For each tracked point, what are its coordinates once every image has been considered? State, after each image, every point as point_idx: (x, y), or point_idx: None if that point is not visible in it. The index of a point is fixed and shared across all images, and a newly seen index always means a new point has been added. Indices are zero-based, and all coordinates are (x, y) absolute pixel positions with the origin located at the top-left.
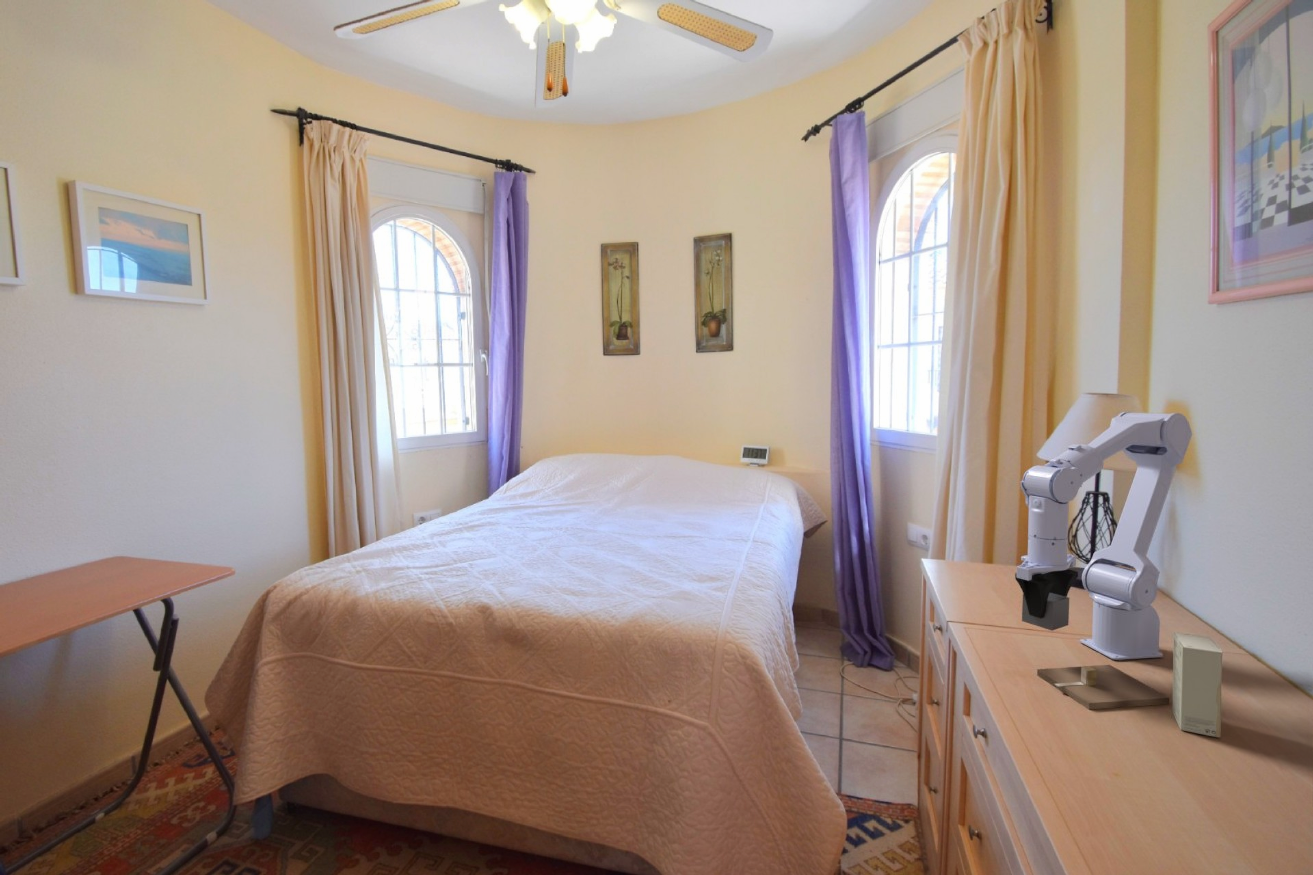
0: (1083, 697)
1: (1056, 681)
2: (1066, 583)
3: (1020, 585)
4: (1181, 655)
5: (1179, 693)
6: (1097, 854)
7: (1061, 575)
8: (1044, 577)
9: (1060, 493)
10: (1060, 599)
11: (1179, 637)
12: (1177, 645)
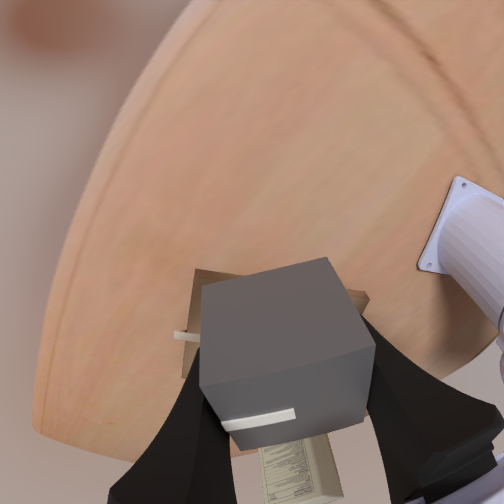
0: (188, 367)
1: (188, 325)
2: (385, 463)
3: (138, 464)
4: (266, 499)
5: (265, 447)
6: (49, 435)
7: (397, 486)
8: (405, 427)
9: None
10: (307, 435)
11: (304, 502)
12: (289, 497)
